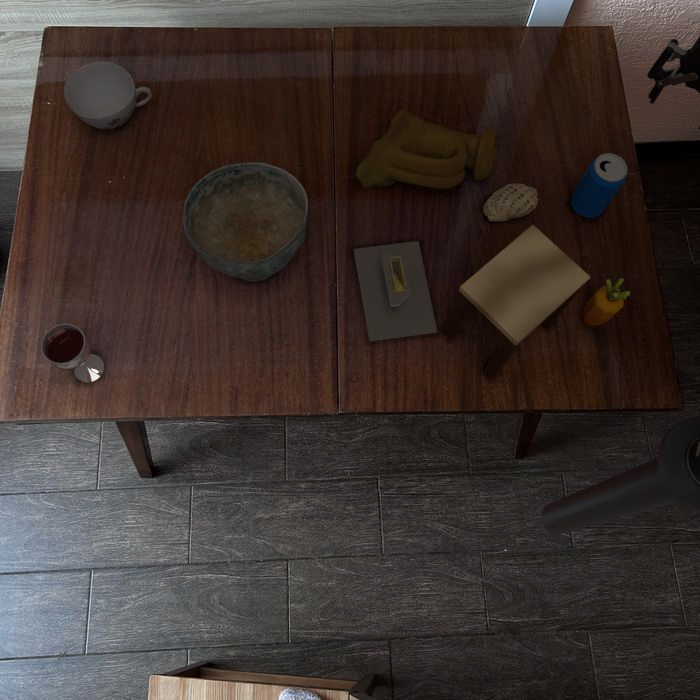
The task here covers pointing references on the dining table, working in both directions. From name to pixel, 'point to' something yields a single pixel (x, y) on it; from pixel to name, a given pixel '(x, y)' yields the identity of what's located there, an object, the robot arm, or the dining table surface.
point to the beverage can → (599, 185)
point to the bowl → (246, 219)
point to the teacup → (103, 94)
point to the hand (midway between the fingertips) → (677, 112)
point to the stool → (519, 292)
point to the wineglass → (71, 352)
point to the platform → (394, 291)
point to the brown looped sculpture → (426, 154)
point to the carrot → (604, 304)
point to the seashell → (510, 202)
